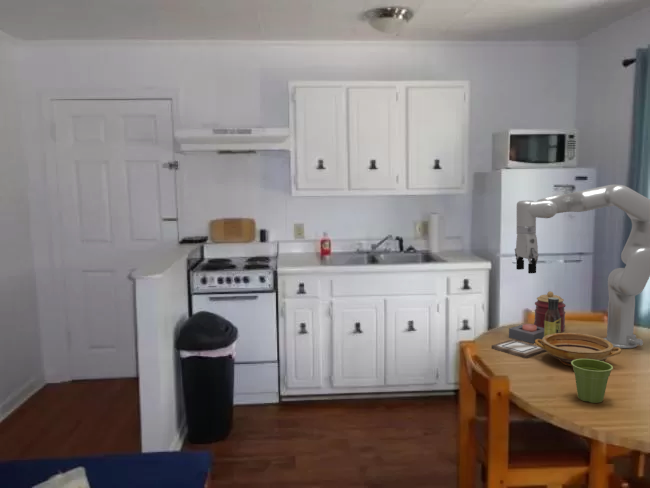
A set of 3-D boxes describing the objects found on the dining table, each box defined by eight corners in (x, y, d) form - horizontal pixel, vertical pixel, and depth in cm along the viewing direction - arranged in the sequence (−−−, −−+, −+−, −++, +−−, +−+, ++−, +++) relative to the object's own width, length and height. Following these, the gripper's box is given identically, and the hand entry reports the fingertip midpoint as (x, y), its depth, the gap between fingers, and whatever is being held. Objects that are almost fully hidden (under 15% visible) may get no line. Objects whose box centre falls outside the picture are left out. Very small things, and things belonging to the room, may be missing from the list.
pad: (547, 351, 220) (547, 347, 220) (525, 358, 212) (526, 355, 212) (512, 341, 233) (513, 338, 233) (491, 348, 225) (491, 345, 224)
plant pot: (619, 400, 172) (621, 366, 170) (596, 409, 166) (598, 374, 164) (584, 388, 182) (585, 355, 180) (561, 396, 175) (563, 362, 174)
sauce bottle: (558, 348, 222) (560, 300, 220) (542, 346, 226) (543, 299, 223) (561, 344, 228) (563, 297, 225) (545, 342, 231) (546, 296, 229)
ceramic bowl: (530, 367, 202) (531, 346, 201) (537, 348, 224) (537, 329, 223) (622, 379, 189) (623, 356, 188) (619, 357, 211) (620, 337, 210)
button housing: (549, 338, 236) (550, 329, 236) (533, 343, 229) (533, 334, 229) (525, 332, 246) (525, 323, 245) (508, 337, 239) (508, 328, 239)
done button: (539, 332, 237) (539, 325, 236) (531, 335, 233) (531, 328, 233) (527, 329, 241) (527, 323, 241) (519, 332, 238) (519, 325, 238)
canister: (542, 324, 259) (543, 287, 256) (569, 329, 249) (571, 291, 247) (528, 329, 250) (529, 291, 248) (556, 335, 240) (558, 295, 238)
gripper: (545, 231, 220) (545, 274, 222) (524, 228, 237) (524, 267, 239) (528, 233, 219) (528, 275, 221) (507, 229, 236) (507, 268, 238)
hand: (526, 271), depth 230 cm, fingers open, 9 cm apart
